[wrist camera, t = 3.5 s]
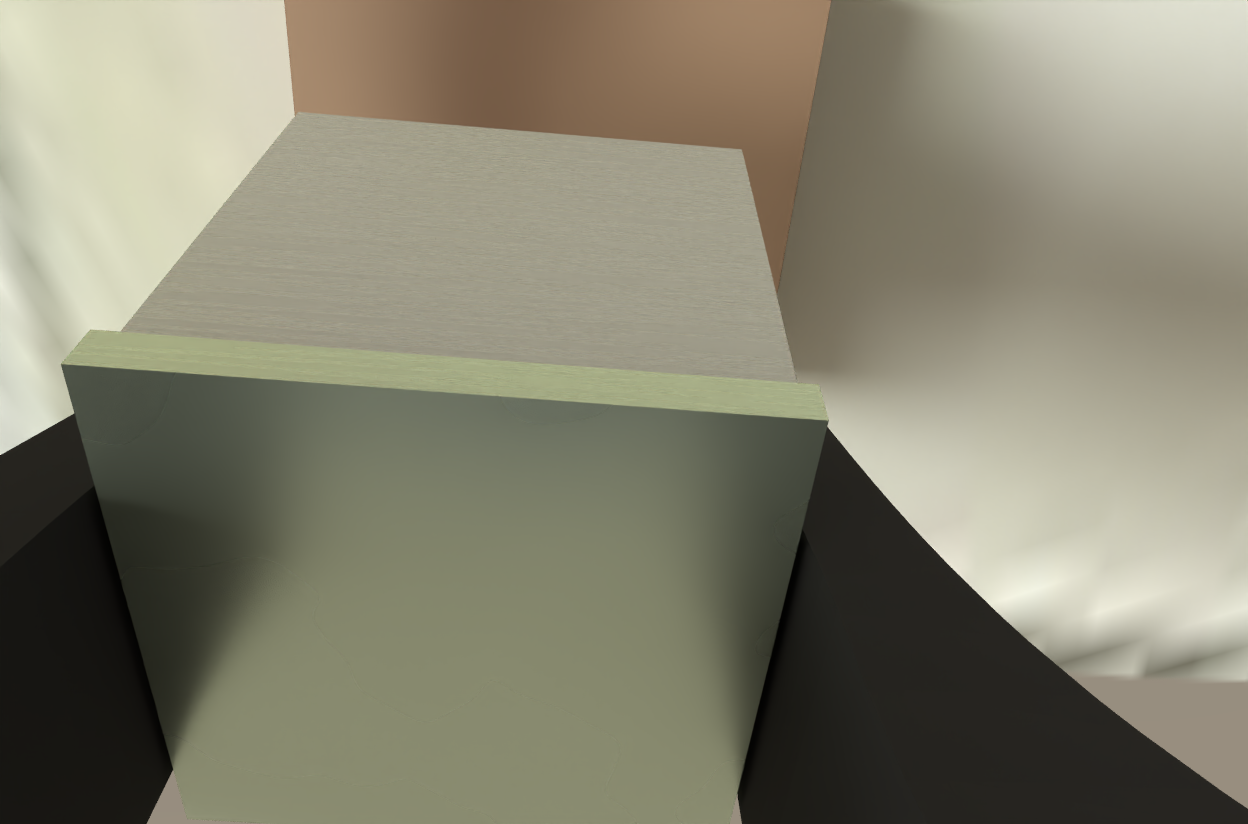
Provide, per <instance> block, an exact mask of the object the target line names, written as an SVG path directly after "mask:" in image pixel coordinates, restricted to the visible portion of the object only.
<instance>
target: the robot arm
mask: <svg viewBox="0 0 1248 824" xmlns="http://www.w3.org/2000/svg"><path fill="white" fill-rule="evenodd" d="M172 771H173V767H172V763H171V759H170V756H169V752H168V748H167V745H166V741H165V738H164V734H163V730H162V727H161V723H160V720H159V716H158V712H157V709H156V705H155V702H154V698H153V694H152V691H151V687H150V684H149V680H148V676H147V673H146V669H145V666H144V662H143V658H142V655H141V651H140V647H139V644H138V640H137V637H136V633H135V629H134V626H133V622H132V619H131V615H130V611H129V608H128V604H127V601H126V597H125V593H124V590H123V586H122V583H121V579H120V575H119V572H118V568H117V565H116V561H115V557H114V554H113V550H112V547H111V543H110V539H109V536H108V532H107V528H106V525H105V521H104V518H103V514H102V510H101V507H100V503H99V500H98V496H97V492H96V489H95V485H94V482H93V478H92V474H91V471H90V467H89V464H88V460H87V456H86V453H85V449H84V446H83V442H82V438H81V435H80V431H79V427H78V424H77V420H76V417H75V413H74V414H73V415H71V416H69V417H67V418H66V419H64V420H62V421H60V422H58V423H57V424H55V425H53V426H51V427H50V428H48V429H46V430H44V431H43V432H41V433H39V434H37V435H35V436H34V437H32V438H30V439H28V440H27V441H25V442H23V443H21V444H19V445H18V446H16V447H14V448H12V449H11V450H9V451H7V452H5V453H4V454H2V455H0V824H147V822H148V819H149V818H150V816H151V813H152V811H153V809H154V807H155V805H156V803H157V801H158V799H159V797H160V795H161V793H162V791H163V789H164V787H165V785H166V783H167V781H168V779H169V777H170V775H171V772H172ZM737 794H738V801H739V807H740V814H741V821H742V824H1248V809H1247V808H1246V807H1244V806H1243V805H1241V804H1240V803H1238V802H1237V801H1235V800H1234V799H1232V798H1231V797H1229V796H1228V795H1227V794H1225V793H1224V792H1222V791H1221V790H1219V789H1218V788H1217V787H1215V786H1214V785H1212V784H1211V783H1210V782H1208V781H1207V780H1206V779H1204V778H1203V777H1201V776H1200V775H1199V774H1197V773H1196V772H1194V771H1193V770H1192V769H1190V768H1189V767H1188V766H1186V765H1185V764H1183V763H1182V762H1181V761H1179V760H1178V759H1177V758H1175V757H1174V756H1172V755H1171V754H1170V753H1168V752H1167V751H1165V750H1164V749H1163V748H1161V747H1160V746H1159V745H1157V744H1156V743H1154V742H1153V741H1152V740H1150V739H1149V738H1147V737H1146V736H1145V735H1143V734H1142V733H1141V732H1139V731H1138V730H1137V729H1135V728H1134V727H1133V726H1131V725H1130V724H1129V723H1128V722H1126V721H1125V720H1124V719H1122V718H1121V717H1120V716H1118V715H1117V714H1116V713H1115V712H1113V711H1112V710H1111V709H1110V708H1108V707H1107V706H1106V705H1104V704H1103V703H1102V702H1100V701H1099V700H1098V699H1097V698H1096V697H1094V696H1093V695H1092V694H1091V693H1089V692H1088V691H1087V690H1086V689H1085V688H1083V687H1082V686H1081V685H1080V684H1079V683H1078V682H1076V681H1075V680H1074V679H1073V678H1072V677H1070V676H1069V675H1068V674H1067V673H1066V672H1064V671H1063V670H1062V669H1061V668H1060V667H1059V666H1057V665H1056V664H1055V663H1054V662H1053V661H1051V660H1050V659H1049V658H1048V657H1047V656H1045V655H1044V654H1043V653H1042V652H1041V651H1039V650H1038V649H1037V648H1036V647H1035V646H1034V645H1032V644H1031V643H1030V642H1029V641H1028V640H1027V639H1026V638H1024V637H1023V636H1022V635H1021V634H1020V633H1019V632H1018V631H1017V630H1016V629H1014V628H1013V627H1012V626H1011V625H1010V624H1009V623H1008V622H1007V621H1006V620H1005V619H1003V618H1002V617H1001V616H1000V615H999V614H998V613H997V612H996V611H995V610H994V609H993V608H992V607H991V606H990V605H989V604H988V603H987V602H986V601H985V600H984V599H983V598H982V597H981V596H980V595H979V594H978V593H977V592H976V591H975V590H973V589H972V588H971V587H970V586H969V585H968V584H967V583H966V582H965V581H964V580H963V579H962V578H961V577H960V576H959V575H958V574H957V573H956V572H955V571H954V570H953V569H952V568H951V567H950V566H949V565H948V564H947V563H946V562H945V561H944V560H943V559H942V558H941V557H940V556H939V555H938V553H937V552H936V551H935V550H934V549H933V548H932V547H931V546H930V545H929V544H928V543H927V542H926V541H925V540H924V539H923V538H922V537H921V536H920V534H919V533H918V532H917V531H916V530H915V529H914V528H913V527H912V526H911V525H910V524H909V522H908V521H907V520H906V519H905V518H904V517H903V516H902V515H901V514H900V512H899V511H898V510H897V509H896V508H895V507H894V506H893V505H892V503H891V502H890V501H889V500H888V499H887V498H886V497H885V495H884V494H883V493H882V492H881V491H880V490H879V488H878V487H877V486H876V485H875V484H874V483H873V481H872V480H871V479H870V478H869V477H868V476H867V474H866V473H865V472H864V471H863V470H862V468H861V467H860V466H859V465H858V464H857V462H856V461H855V460H854V459H853V458H852V456H851V455H850V454H849V453H848V452H847V450H846V449H845V448H844V447H843V445H842V444H841V443H840V442H839V441H838V439H837V438H836V437H835V436H834V434H833V433H832V432H831V431H830V430H829V428H828V427H827V429H826V434H825V438H824V442H823V446H822V450H821V454H820V458H819V462H818V466H817V470H816V474H815V478H814V482H813V486H812V491H811V495H810V499H809V503H808V507H807V511H806V515H805V519H804V523H803V527H802V531H801V535H800V539H799V543H798V547H797V552H796V556H795V560H794V564H793V568H792V572H791V576H790V580H789V584H788V588H787V592H786V596H785V600H784V604H783V609H782V613H781V617H780V621H779V625H778V629H777V633H776V637H775V641H774V645H773V649H772V653H771V657H770V661H769V665H768V670H767V674H766V678H765V682H764V686H763V690H762V694H761V698H760V702H759V706H758V710H757V714H756V718H755V722H754V727H753V731H752V735H751V739H750V743H749V747H748V751H747V755H746V759H745V763H744V767H743V771H742V775H741V779H740V783H739V788H738V792H737Z"/></svg>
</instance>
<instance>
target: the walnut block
mask: <svg viewBox="0 0 1248 824" xmlns="http://www.w3.org/2000/svg"><path fill="white" fill-rule="evenodd" d="M284 3H285V14H286V25H287V36H288V47H289V57H290V68H291V79H292V90H293V101H294V111H295V116H296V114H297V113H298V112H305V113H317V114H329V115H341V116H353V117H364V118H376V119H388V120H400V121H412V122H424V123H435V124H447V125H459V126H471V127H483V128H494V129H506V130H518V131H530V132H542V133H553V134H565V135H577V136H589V137H601V138H613V139H624V140H636V141H648V142H660V143H672V144H683V145H695V146H707V147H719V148H731V149H742V152H743V156H744V161H745V165H746V169H747V173H748V177H749V181H750V186H751V190H752V194H753V198H754V202H755V207H756V211H757V215H758V219H759V223H760V228H761V232H762V236H763V240H764V244H765V249H766V253H767V257H768V261H769V265H770V270H771V274H772V278H773V282H774V286H775V290H776V295H777V292H778V287H779V281H780V276H781V271H782V265H783V260H784V254H785V249H786V243H787V238H788V233H789V227H790V222H791V216H792V211H793V205H794V200H795V195H796V189H797V184H798V178H799V173H800V167H801V162H802V157H803V151H804V146H805V140H806V135H807V129H808V124H809V118H810V113H811V108H812V102H813V97H814V91H815V86H816V80H817V75H818V70H819V64H820V59H821V53H822V48H823V42H824V37H825V32H826V26H827V21H828V15H829V10H830V4H831V0H284Z"/></svg>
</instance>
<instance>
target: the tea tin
mask: <svg viewBox="0 0 1248 824" xmlns="http://www.w3.org/2000/svg"><path fill="white" fill-rule="evenodd" d="M61 366H62V370H63V373H64V377H65V381H66V384H67V388H68V391H69V395H70V399H71V402H72V406H73V409H74V413H75V417H76V420H77V424H78V427H79V431H80V435H81V438H82V442H83V446H84V449H85V453H86V456H87V460H88V464H89V467H90V471H91V474H92V478H93V482H94V485H95V489H96V492H97V496H98V500H99V503H100V507H101V510H102V514H103V518H104V521H105V525H106V528H107V532H108V536H109V539H110V543H111V547H112V550H113V554H114V557H115V561H116V565H117V568H118V572H119V575H120V579H121V583H122V586H123V590H124V593H125V597H126V601H127V604H128V608H129V611H130V615H131V619H132V622H133V626H134V629H135V633H136V637H137V640H138V644H139V647H140V651H141V655H142V658H143V662H144V666H145V669H146V673H147V676H148V680H149V684H150V687H151V691H152V694H153V698H154V702H155V705H156V709H157V712H158V716H159V720H160V723H161V727H162V730H163V734H164V738H165V741H166V745H167V748H168V752H169V756H170V759H171V763H172V767H173V770H174V774H175V777H176V781H177V785H178V788H179V792H180V795H181V798H182V803H183V806H184V810H185V813H186V817H187V819H196V820H212V821H213V820H214V821H231V822H249V823H266V824H730V820H731V816H732V812H733V808H734V804H735V800H736V795H737V792H738V788H739V783H740V779H741V775H742V771H743V767H744V763H745V759H746V755H747V751H748V747H749V743H750V739H751V735H752V731H753V727H754V722H755V718H756V714H757V710H758V706H759V702H760V698H761V694H762V690H763V686H764V682H765V678H766V674H767V670H768V665H769V661H770V657H771V653H772V649H773V645H774V641H775V637H776V633H777V629H778V625H779V621H780V617H781V613H782V609H783V604H784V600H785V596H786V592H787V588H788V584H789V580H790V576H791V572H792V568H793V564H794V560H795V556H796V552H797V547H798V543H799V539H800V535H801V531H802V527H803V523H804V519H805V515H806V511H807V507H808V503H809V499H810V495H811V491H812V486H813V482H814V478H815V474H816V470H817V466H818V462H819V458H820V454H821V450H822V446H823V442H824V438H825V434H826V429H827V425H828V421H829V420H828V416H827V412H826V409H825V405H824V401H823V398H822V394H821V390H820V386H819V384H807V383H797V378H796V374H795V370H794V366H793V362H792V358H791V353H790V349H789V345H788V341H787V337H786V332H785V328H784V324H783V320H782V316H781V311H780V307H779V303H778V299H777V295H776V290H775V286H774V282H773V278H772V274H771V270H770V265H769V261H768V257H767V253H766V249H765V244H764V240H763V236H762V232H761V228H760V223H759V219H758V215H757V211H756V207H755V202H754V198H753V194H752V190H751V186H750V181H749V177H748V173H747V169H746V165H745V161H744V156H743V152H742V149H731V148H719V147H707V146H695V145H683V144H672V143H660V142H648V141H636V140H624V139H613V138H601V137H589V136H577V135H565V134H553V133H542V132H530V131H518V130H506V129H494V128H483V127H471V126H459V125H447V124H435V123H424V122H412V121H400V120H388V119H376V118H364V117H353V116H341V115H329V114H317V113H305V112H298V113H297V114H296V116H295V117H294V118H293V119H292V121H291V122H290V123H289V124H288V126H287V127H286V128H285V129H284V130H283V132H282V133H281V134H280V135H279V137H278V138H277V139H276V140H275V142H274V143H273V144H272V145H271V147H270V148H269V149H268V150H267V151H266V153H265V154H264V155H263V156H262V158H261V159H260V160H259V161H258V163H257V164H256V165H255V166H254V168H253V169H252V170H251V171H250V172H249V174H248V175H247V176H246V177H245V179H244V180H243V181H242V182H241V184H240V185H239V186H238V187H237V188H236V190H235V191H234V192H233V193H232V195H231V196H230V197H229V198H228V200H227V201H226V202H225V203H224V205H223V206H222V207H221V208H220V209H219V211H218V212H217V213H216V214H215V216H214V217H213V218H212V219H211V221H210V222H209V223H208V224H207V225H206V227H205V228H204V229H203V230H202V232H201V233H200V234H199V235H198V237H197V238H196V239H195V240H194V242H193V243H192V244H191V245H190V246H189V248H188V249H187V250H186V251H185V253H184V254H183V255H182V256H181V258H180V259H179V260H178V261H177V263H176V264H175V265H174V266H173V267H172V269H171V270H170V271H169V272H168V274H167V275H166V276H165V277H164V279H163V280H162V281H161V282H160V283H159V285H158V286H157V287H156V288H155V290H154V291H153V292H152V293H151V295H150V296H149V297H148V298H147V300H146V301H145V302H144V303H143V304H142V306H141V307H140V308H139V309H138V311H137V312H136V313H135V314H134V316H133V317H132V318H131V319H130V320H129V322H128V323H127V324H126V325H125V327H124V328H123V329H122V330H121V332H116V331H102V330H90V331H89V332H88V333H87V334H86V335H85V337H84V338H83V339H82V340H81V341H80V342H79V343H78V345H77V346H76V347H75V348H74V349H73V350H72V352H71V353H70V354H69V355H68V356H67V357H66V359H65V360H64V361H63V362H62V363H61Z"/></svg>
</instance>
